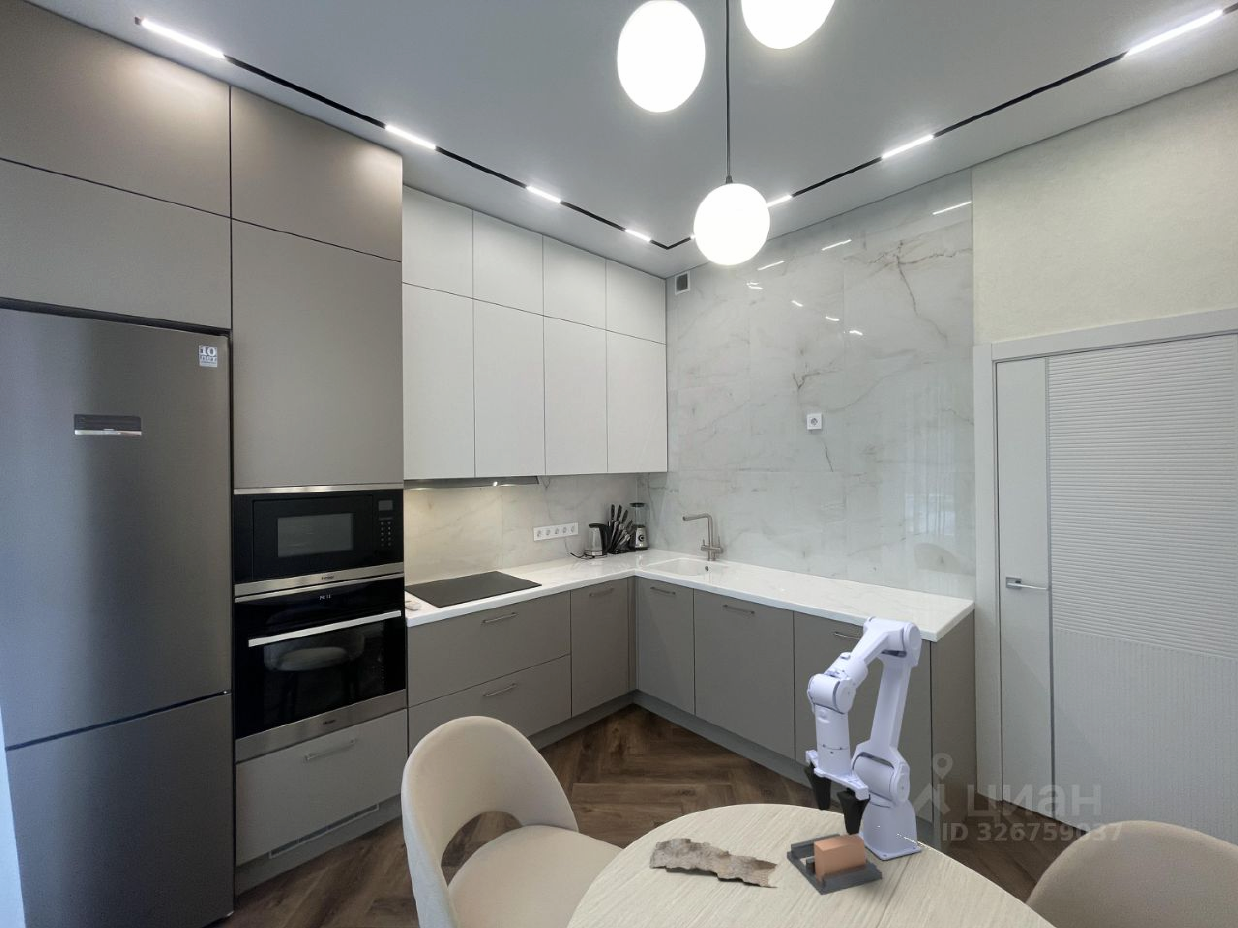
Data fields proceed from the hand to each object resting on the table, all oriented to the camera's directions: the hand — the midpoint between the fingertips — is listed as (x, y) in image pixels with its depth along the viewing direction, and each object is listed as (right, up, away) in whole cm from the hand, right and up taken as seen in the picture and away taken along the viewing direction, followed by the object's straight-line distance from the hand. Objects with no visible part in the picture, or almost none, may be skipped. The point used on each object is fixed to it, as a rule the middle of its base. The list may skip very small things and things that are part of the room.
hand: (838, 820), depth 91 cm
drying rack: (0, -10, +1) cm, 10 cm away
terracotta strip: (0, -9, -1) cm, 10 cm away
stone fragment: (-22, -11, +2) cm, 25 cm away
